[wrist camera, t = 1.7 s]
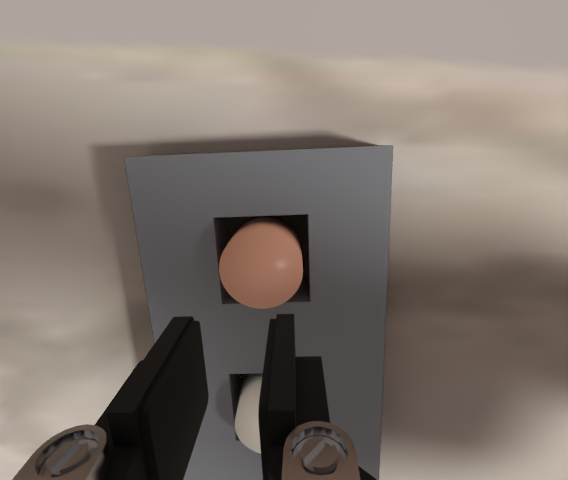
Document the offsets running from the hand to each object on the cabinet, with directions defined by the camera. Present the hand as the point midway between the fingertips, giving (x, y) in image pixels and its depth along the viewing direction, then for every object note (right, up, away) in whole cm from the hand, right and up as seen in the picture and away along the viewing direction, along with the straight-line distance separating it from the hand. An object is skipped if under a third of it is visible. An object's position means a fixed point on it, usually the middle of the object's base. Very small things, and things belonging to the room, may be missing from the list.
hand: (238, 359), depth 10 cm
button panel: (+1, -6, +14) cm, 16 cm away
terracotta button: (0, +3, +10) cm, 11 cm away
